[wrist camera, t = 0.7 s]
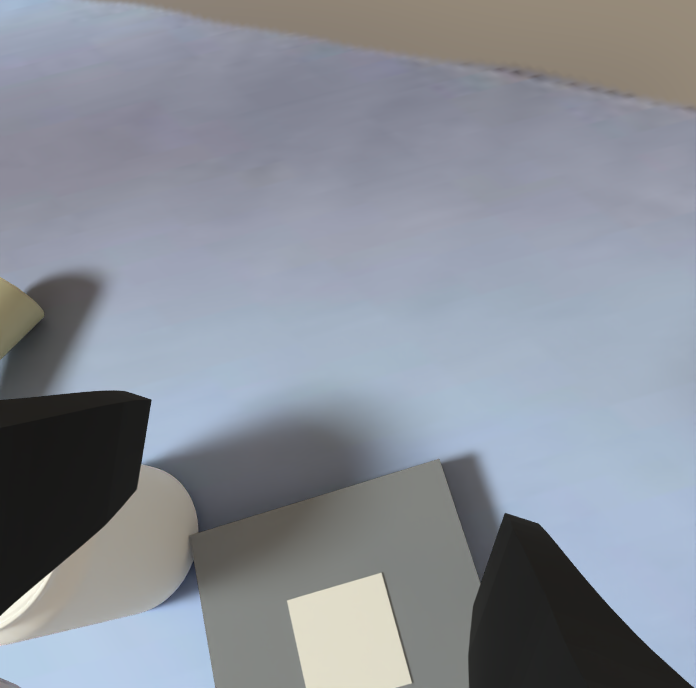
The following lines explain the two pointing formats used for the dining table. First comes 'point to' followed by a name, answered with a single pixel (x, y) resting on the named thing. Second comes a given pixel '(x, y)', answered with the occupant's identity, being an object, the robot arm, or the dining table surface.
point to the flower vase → (15, 316)
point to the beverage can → (114, 565)
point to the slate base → (342, 589)
